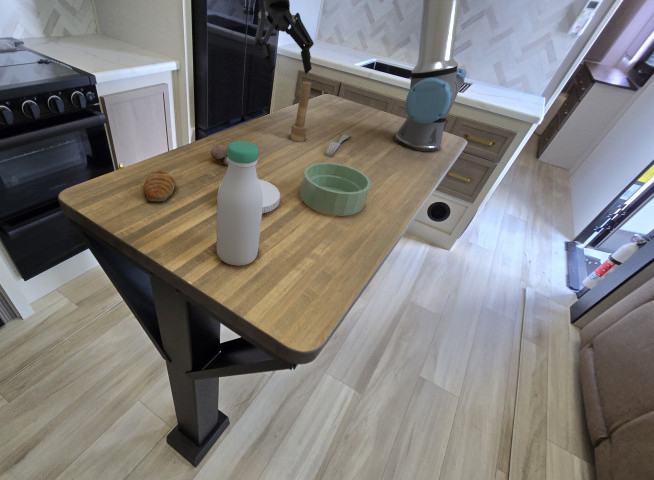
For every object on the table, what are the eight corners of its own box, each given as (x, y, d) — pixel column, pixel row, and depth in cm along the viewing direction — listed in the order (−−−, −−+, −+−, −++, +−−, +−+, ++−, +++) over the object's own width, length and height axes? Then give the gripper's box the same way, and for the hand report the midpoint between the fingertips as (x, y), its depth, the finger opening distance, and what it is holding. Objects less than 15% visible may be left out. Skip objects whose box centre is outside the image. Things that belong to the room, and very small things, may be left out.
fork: (348, 144, 116) (351, 135, 114) (332, 156, 100) (335, 147, 99) (341, 142, 117) (343, 133, 115) (324, 154, 101) (326, 144, 99)
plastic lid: (283, 193, 81) (284, 183, 79) (272, 223, 71) (274, 213, 69) (228, 182, 82) (228, 173, 80) (210, 211, 72) (210, 200, 70)
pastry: (172, 205, 72) (170, 188, 70) (140, 203, 71) (137, 187, 69) (176, 184, 79) (175, 169, 76) (147, 183, 78) (145, 167, 75)
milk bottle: (265, 258, 62) (279, 152, 48) (230, 272, 59) (234, 160, 45) (243, 237, 66) (250, 133, 52) (209, 248, 63) (206, 139, 49)
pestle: (295, 134, 111) (303, 79, 100) (307, 139, 109) (317, 83, 98) (287, 138, 108) (295, 81, 97) (300, 142, 106) (309, 85, 95)
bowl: (318, 179, 88) (323, 157, 84) (372, 200, 83) (380, 177, 79) (287, 200, 79) (291, 176, 75) (346, 225, 73) (354, 201, 69)
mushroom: (244, 167, 89) (241, 148, 93) (234, 149, 84) (232, 130, 88) (219, 177, 91) (217, 158, 95) (208, 160, 86) (207, 140, 90)
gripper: (302, 10, 108) (315, 78, 110) (232, 0, 97) (249, 76, 100) (315, -9, 101) (329, 64, 104) (243, -21, 90) (260, 61, 93)
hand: (290, 70), depth 102 cm, fingers open, 13 cm apart
